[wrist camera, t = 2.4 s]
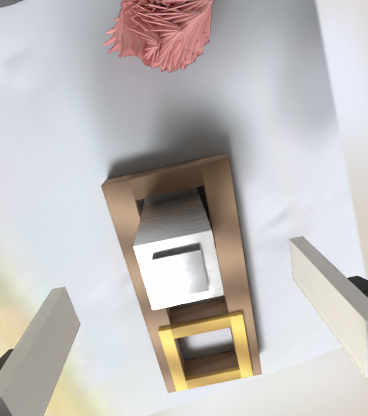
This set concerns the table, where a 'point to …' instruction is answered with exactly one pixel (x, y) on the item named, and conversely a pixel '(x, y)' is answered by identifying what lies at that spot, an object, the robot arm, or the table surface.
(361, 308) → the robot arm
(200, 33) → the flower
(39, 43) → the table surface
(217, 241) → the board
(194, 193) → the block
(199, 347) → the table surface
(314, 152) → the table surface
